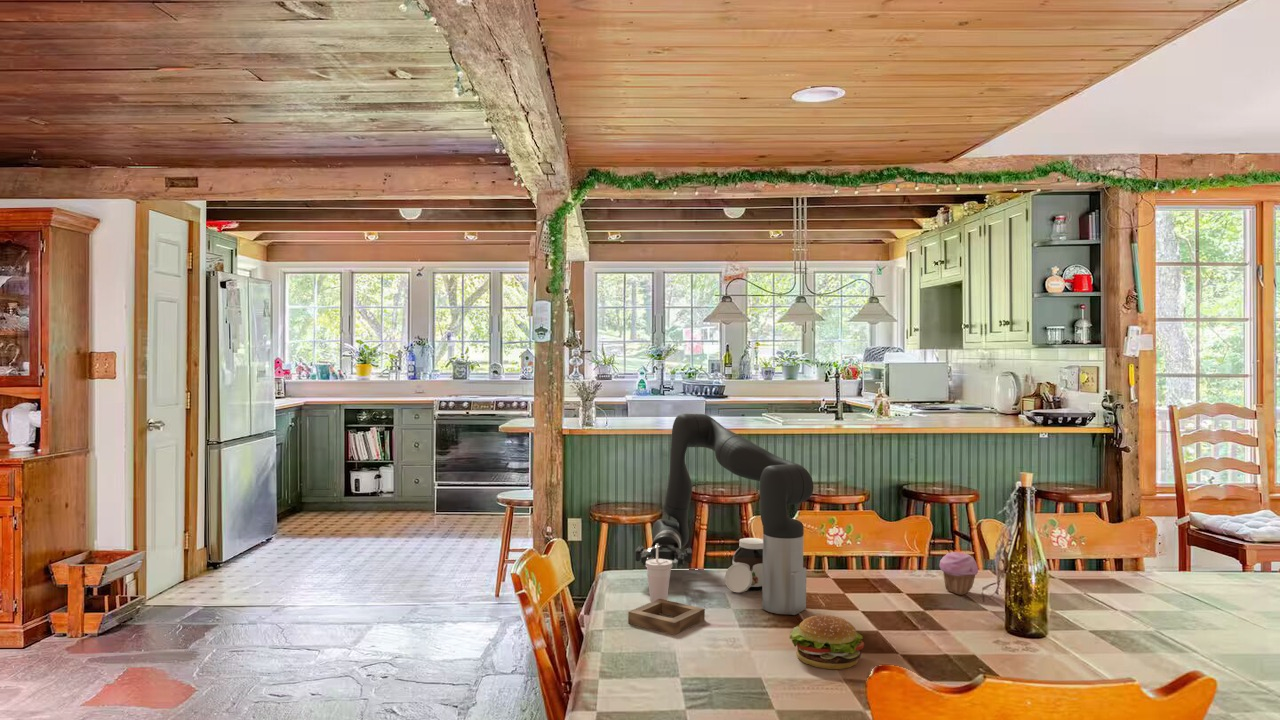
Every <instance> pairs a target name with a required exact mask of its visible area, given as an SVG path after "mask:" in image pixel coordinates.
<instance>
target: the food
mask: <svg viewBox="0 0 1280 720" xmlns="http://www.w3.org/2000/svg"><path fill="white" fill-rule="evenodd" d="M789 639H790V640H791V643H792V644H793V646H794V647H795V648H796V647H797V648H796V651H795V654H796V657H797V659H799V660H800V661H801V662H803V663H804V664H807V665H809V666H812V667H815V668H820V669H828V670H842V669H848V668H852V667H854V666H855V665H857V664H858V662H859V659H860V658H861V656H862V650H863V648H865V643H864V641H863V639H864V636H863V635H861V634H860V633H859V632H857V629H856V628H855V626H854V625H853V624H852V623H851V622H849V621H847V620H846V619H845V618H842V617H839V616H835V615H826V614H819V615H818V614H815V615H812V616H809V617H806V618H804V620H802V621H801V622H800V623H799V624H797V626H794V627H793V628H792V630H791V632H790V634H789Z"/></svg>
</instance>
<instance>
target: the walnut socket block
mask: <svg viewBox="0 0 1280 720" xmlns="http://www.w3.org/2000/svg"><path fill="white" fill-rule="evenodd" d="M705 610H706V609H705V608H703V607H699V606H694V605H689V604H685V603H680V602H677V601H672V600H668V599H667V600H663V599H658V600H655V601H653V602H651V601H650V602H648V603H646V604H643V605H641V606H638V607H636V608H634V609H632V610H630V611H628V614H627V615H628V617H627V619H628V621H627V623H628V624H631V625H634V626H638V627H641V628H646V629H648V630H649V629H650V630H654V631H658V632H661V633H666V634H669V635H673V636H675V635H678V634H679V633H682V632H683V631H686V630H687V629H689V628H691V627H694V626H695V625H698V624H699V623H702V622H704V621H705V617H706V616H705V614H706V613H705ZM661 614H663V615H661ZM664 615H667V616H664ZM668 616H670V617H668ZM671 616H672V617H671Z"/></svg>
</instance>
